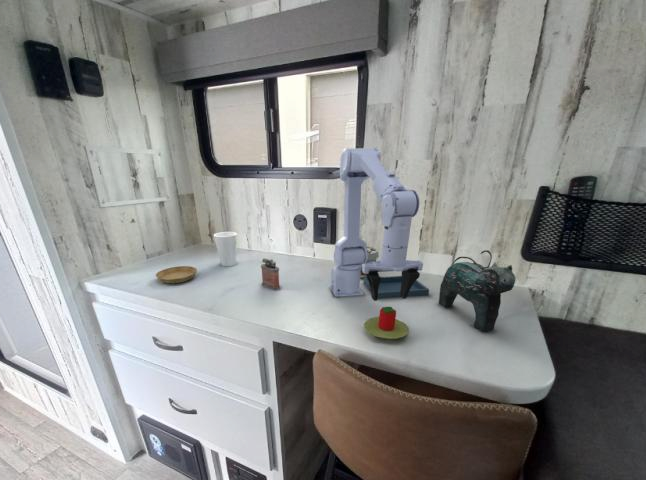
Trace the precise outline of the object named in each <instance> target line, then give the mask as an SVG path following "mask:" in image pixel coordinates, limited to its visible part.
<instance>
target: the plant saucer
mask: <svg viewBox="0 0 646 480" xmlns="http://www.w3.org/2000/svg"><path fill="white" fill-rule="evenodd" d="M197 272H198V268H196V267H194V266H190V265H181V266H180V265H178V266H171V267H168V268H163V269H161V270H160V271H158V272H156V273H155V277H156V278H157V279H158V280H160V281H162V282H163V283H166V284H182V283H185V282H188V281H189V280H191V279H192V278H193V277H195V276H196V273H197Z"/></svg>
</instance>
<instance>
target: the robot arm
mask: <svg viewBox="0 0 646 480" xmlns="http://www.w3.org/2000/svg"><path fill="white" fill-rule="evenodd" d="M381 155H382V154H381V151H380V150H379V148H377V147H371V148H370V147H368V148H367V147H363V148H362V147H361V148H359V147H358V148H357V147H355V148H353V147H352V148H349V147H345V148H344V149H343V150H342V152H341V155H340V157H339V180H341V181H343V182H344V205H343V206H344V207H343V208H344V209H343V212H344V213H343V236H342V237H341V238H340V239H339V240H338V241H336V242H335V245H334V251H333V261H334V264H335V267H332V268H331V273H330V275H331V276H330V290H331V292H332V294H333V295H334V297H335V298H338V297H352V296H353V297H354V296H363V295H364V293H363V291H362V290H361V289H360V285H361V279H360V275H361V268H362V272H363V273H364V274H366V276H367V279H368V282H369V285H370V289H371V292H370V296H371V299H372V301H374V302H377V301H378V299H377V298H378V288H379V284H380V280H381V278H380V277H381V276H380V274H379V273H385V272H386V273H387V272H401V276H402V283H401V290H400V296H401V297H400V298H402V299H404V300H405V299H407V298H408V297H407V295H408V293H409V291H410V289H411V287H412V285H413V284H414V282H415V281H416V280H417V281H418V279H420V275H421V273H420V271H423V267H424V262H423V261H421V260H409V259H407V255H408V249H409V248H408V247H409V242H410V235H411V226H412V221H413V219H412V218H415V216H417V214H418V212H419V210H420V197H419V194H418V193H417V190H415V189H409V188H406V187H405V186H404V185H403V184H402V182H401V181H400V179H398V177H397V176H396V173H395V172H394V171H386V169H385V167H384V165H383V164H382V161H381V159H382V157H381ZM369 179H370V180H371V181H372V182H373V183H372V190H373V192H374V193H375V195H376V197H377V198H378V199H379V202H381V204H380V205H381V206H380V207H381V213H382V221H381V222H382V225H383V226H384V227H383V235H382V236H383V237H382V247H381V257H380V260H378V261H377V260H376V262H372V263H366V262H367V258H368V253H367V247H368V246H367V242H366V241H365V240H363V238H361V237H360V236H361V206H362V205H361V204H362V185H363V183H364V182H365V181H366V180H369Z"/></svg>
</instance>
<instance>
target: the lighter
mask: <svg viewBox="0 0 646 480" xmlns="http://www.w3.org/2000/svg"><path fill="white" fill-rule="evenodd" d="M261 263H262V264H261V265H260V268H261V278H262V281H261V285H262V286H263V287H265V288H267V289H270V290H273V291H279V290H280V289H281V285H280V273H279V272H280V267H278V266H276V265H277V262H276V261H274V260H273V259H272V258H271V259H268V258H265V257H263V258H262V262H261Z"/></svg>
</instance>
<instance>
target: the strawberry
mask: <svg viewBox="0 0 646 480" xmlns="http://www.w3.org/2000/svg"><path fill="white" fill-rule="evenodd" d="M378 317H379V324H378V326H379V328H380V329H382V330H387V331H389V330H393V329H394V326H395V319H397V318H396V317H397V310H396V309H394V308H393V307H392V306H382V307H381V308H380V309H379V316H378Z"/></svg>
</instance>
